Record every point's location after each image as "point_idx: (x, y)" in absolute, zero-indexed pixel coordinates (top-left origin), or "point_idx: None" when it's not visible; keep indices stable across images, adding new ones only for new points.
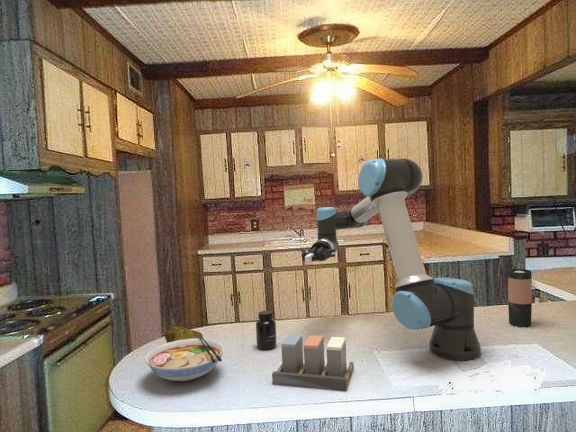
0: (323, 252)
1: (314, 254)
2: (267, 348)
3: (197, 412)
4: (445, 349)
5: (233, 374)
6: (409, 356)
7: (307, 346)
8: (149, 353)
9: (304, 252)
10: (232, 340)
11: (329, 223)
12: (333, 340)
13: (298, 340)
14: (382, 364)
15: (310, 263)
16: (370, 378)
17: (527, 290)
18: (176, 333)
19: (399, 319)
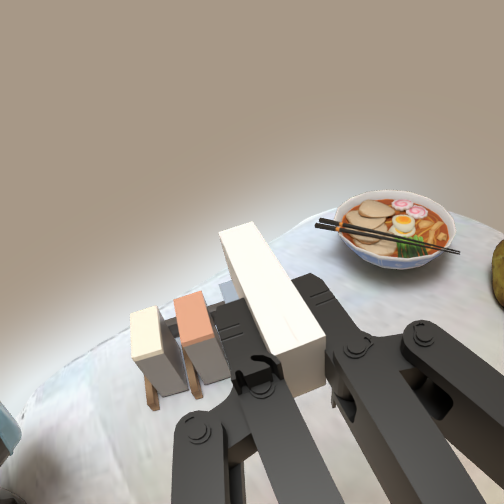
0: (198, 498)
1: (272, 373)
2: None
3: (293, 227)
4: (5, 490)
5: (343, 288)
6: (68, 499)
7: (193, 294)
8: (428, 200)
9: (464, 375)
10: (496, 367)
11: None
12: (151, 333)
13: (225, 303)
14: (107, 449)
15: (238, 295)
16: (118, 389)
17: None
18: (500, 246)
19: (15, 421)
